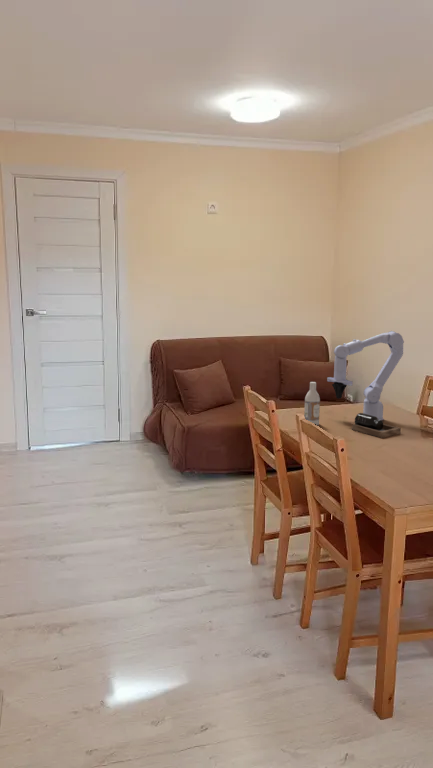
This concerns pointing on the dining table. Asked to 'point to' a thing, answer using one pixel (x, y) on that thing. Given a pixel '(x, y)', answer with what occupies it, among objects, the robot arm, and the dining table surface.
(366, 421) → the supplement bottle
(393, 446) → the dining table surface
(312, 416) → the bath foam
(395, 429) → the tray
